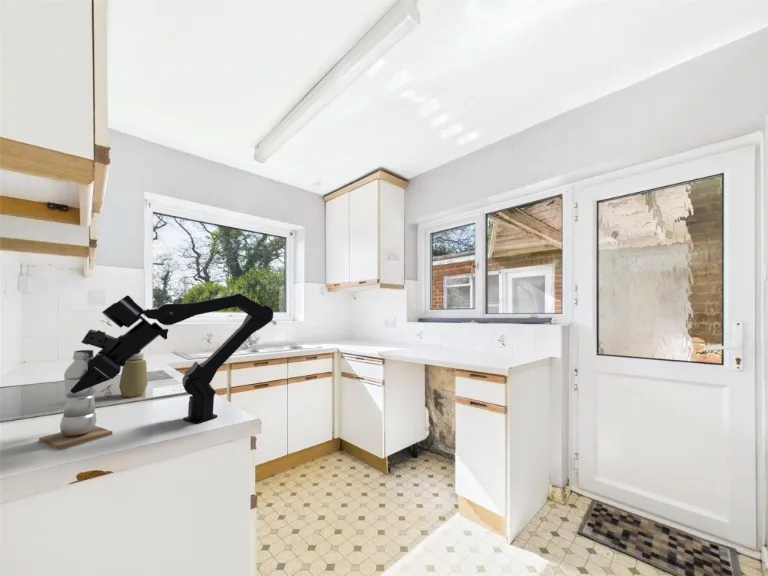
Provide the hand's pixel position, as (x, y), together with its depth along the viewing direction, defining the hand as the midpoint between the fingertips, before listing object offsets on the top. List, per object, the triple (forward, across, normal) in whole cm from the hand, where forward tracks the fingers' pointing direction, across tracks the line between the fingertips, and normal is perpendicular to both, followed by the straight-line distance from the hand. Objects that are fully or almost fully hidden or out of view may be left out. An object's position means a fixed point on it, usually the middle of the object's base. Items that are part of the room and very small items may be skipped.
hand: (75, 387), depth 80 cm
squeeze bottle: (+1, -38, +16) cm, 41 cm away
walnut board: (+8, 0, +9) cm, 12 cm away
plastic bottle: (+7, 0, +9) cm, 11 cm away
